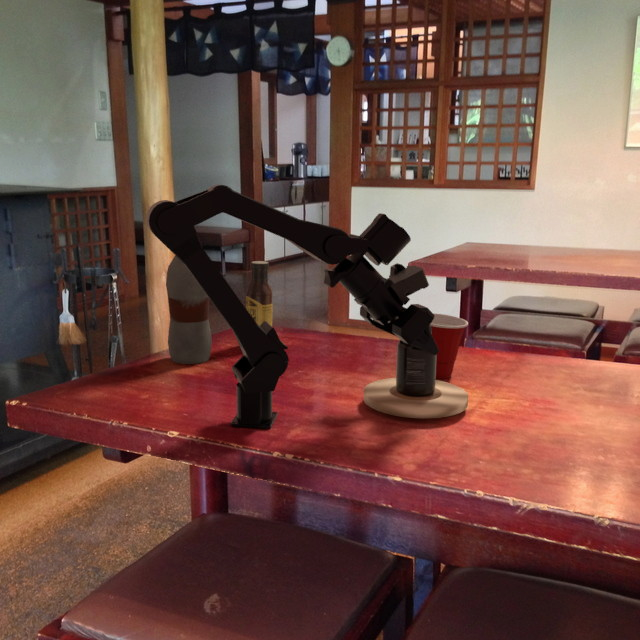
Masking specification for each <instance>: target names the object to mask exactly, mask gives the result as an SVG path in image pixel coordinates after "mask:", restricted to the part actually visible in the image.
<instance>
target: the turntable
mask: <svg viewBox="0 0 640 640" xmlns="http://www.w3.org/2000/svg"><path fill="white" fill-rule="evenodd" d="M363 402H364V404H365V405H367V406H368V407H369V408H371V409H373V410H375V411H377V412H381V413H383V414H387V415H391V416H396V417H401V418H402V417H403V418H410V419H411V418H412V419H439V418H446V417H452V416H455V415H459V414H461V413H462V412H464V411H466V409H467V408H468V404H469V395H468V392H467V391H466V390H465V389H463V388H462V387H460V386H458V385H455V384H453V383H450V382H446V381H443V380H440V379H436V383H435V392H434V393H433V394H432V395H430V396H425V397H411V396H405V395H402V394H400V393H398V392H397V390H396V377H388V378H383V379H379V380H374V381H372V382H370V383H368V384H366V385H365V386H364V389H363Z"/></svg>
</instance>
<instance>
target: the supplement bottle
mask: <svg viewBox="0 0 640 640" xmlns="http://www.w3.org/2000/svg"><path fill="white" fill-rule="evenodd" d="M429 329H430V332H431V334H432V325H430V327H429ZM396 346H397V347H396V368H395V369H396V371H395V372H396V373H395V374H396V376H395V378H396V390H397V392H398V393H400V394H402V395H405V396H411V397H425V396H430V395H432V394H433V393H434V392H435V383H436V380H437V379H436V358H437V354H436V355H432V354H430V353H428V352H425V351H423V350H421V349H418V348H416V347H413V346H411V345H408V344H406V343H404V342H403V341H401V340H400V339H399V341H398V342H397V345H396Z"/></svg>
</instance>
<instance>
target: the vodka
mask: <svg viewBox="0 0 640 640" xmlns="http://www.w3.org/2000/svg"><path fill="white" fill-rule="evenodd" d="M165 287H166V294H167V303H168V310H169V311H168V312H169V327H168V336H167V338H168V339H167V347H168V353H169V356H170V359H171V361H172V362H174V363H176V364H180V365H181V364H182V365H197V364H202V363H206V362H208V361H209V359H210V357H211V353H212V344H213V343H212V342H213V341H212V340H213V339H212V333H211V332H212V330H211V327H210V325H211V324H210V320H209V312H210V311H209V310H210V299H209V297H208V296H207V294H206V293H205V292H204V290H203V289H202V288H201V286H200V285H199V284H198V282H197V281H196V279H195V278H194V277H193V275H192V274H191V273H190V271H189V270H188V268H187V267H186V266H185V264H184V263H183V262H182V261H181V260H180V259H179V258H178V257H177V256H176V255H175V254H174V256H173V258H172V260H171V261H170V263H169V265H168V267H167V271H166V280H165Z"/></svg>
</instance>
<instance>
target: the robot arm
mask: <svg viewBox="0 0 640 640" xmlns="http://www.w3.org/2000/svg"><path fill="white" fill-rule="evenodd" d="M223 213H224V214H226V215H227V216H230V217H232V218H235V219H237V220H240V221H243V222H244V223H247V224H249V225H252V226H254V227H256V228H259V229H262V230H263V231H266V232H268V233H271V234H274V235H275V236H277V237H281V238H283V239H285V240H287V241H288V242H290V243H291V244H292V245H294V246H295V247H296V248H297V249H300V251H303V252H304V253H305V254H307V255H308V256H310V257H312V258H313V259H315V260H317V261H320V262H323V263H325V264H327V265H334V266H333V267H332V268H325V269H324V270H323V271H324V278H323V284H324V285H325V286H326V287H329V288H333V289H334V288H335V287H336V286H337V285H338V284H340V285H342V286H343V287H344V288H345V290H347V292H348V293H349V294H351V296H352V297H354V299H353V300H354V302H355V303H356V304H357V305H359V306H360V307H359V315H360V317H362V319H363V320H364V321H366V323H368V324H370V325H371V326H373V327H375V328H377V329H380V330H381V331H384V332H386V333H388V334H390V335H393V336H395V337H396V338H398V339H399V341H400V340H401V341H403V342H404V343H406V344H408V345H411V346H413V347H416V348H418V349H421V350H423V351H425V352H428V353H430V354H432V355H436V354H437V353H438V352H439V349H438V347H437V345H436V343H435V340H434V338H433V336H432V334H431V332H430V329H429V327H430V324H431V323H432V321H433V319H434V316H435V315H434V314H433V312H432V311H431V310H430V309H429V307H426V306H424V305H421V304H419V303H417V304H416V303H411V304H410V305H408V306H407V307H405V305H407V304H408V302H409V301H410V300H411V299H410V298H409V296H411V295H412V294H415V293H417V292H418V291H420V290H422V289H427V288H428V287H429V286H430V283H429V281H428V279H427V276H426V273H425V271H424V268H423V267H421V266H416V265H407V266H406V267H405V266H404V265H403V264H401V263H398V262H397V263H395V264H393V265H391V266H390V268H389V270H390V271H389V275H388V277H387V278H386V277H384V276H383V275H381V273H380V272H379V271H378V270H377V269H376V268H375V267H374V266H373V265H372V264H371V263H373V264H374V265H375V266H378V267H379V266H380V265H381V264H383V265H385V266H389V265H390V263H391V262H393V260H394V259H395V258H396V257H397V256H398V255H399V254H400V253H401V252H402V251H403V249H405V247H407V245H409V243H410V242H411V239H412V238H411V236H410V235H409V233H408V232H407V231H406V230H405V229H404V227H402V226H400V225H399V224H398V223H396V222H395V221H394V220H393V219H390V218H389V217H388V216H387V214H385V213H378V214H377V215H376V216H375V217H374V218H373V220H372V222H371V223H370V224H369V225H368V226H367V227H366V229H364V231H362V232H361V234H360V235H356V234H354V233H350V234H348V233H347V232H346V231H345V230H343V229H341V228H339V227H334V226H330V225H325V224H322V223H318V222H313V221H309V220H304V219H299V218H298V217H295V216H293V215H291V214H289V213H286V212H283V211H281V210H280V209H276V208H274V207H272V206H269V205H268V204H265V203H263V202H260V201H258V200H256V199H254V198H252V197H249V196H246V195H244V194H242V193H241V192H239V191H235V190H234V189H232V188H231V187H230V186H228V185H224V184H214V185H212V186H210V187H209V188H208V189H206V190H205V189H204V190H203V191H200V192H198V193H194V194H192V195H189V196H186V197H184V198H181V199H178V200H177V201H172V200H166V199H165V200H159V201H157V202H154V203H153V204H152V205H151V206H149V209H148V210H147V214H146V225H147V226H148V229H149V231H150V232H151V233H152V234H153V235H154V236H155V237H156V238H157V239H158V240H159V241H160V242H161V243H162V244H163V245H164V247H166V248H167V249H168V250H169V251H170V252H171V253H172V254H174V256H175V255H176V256H177V257H178V258H179V259H180V260H181V261H182V262H183V263H184V264H185V266H186V267H187V268H188V270H189V271H190V273H191V274H192V275H193V277H194V278H195V279H196V281H197V282H198V284H199V285H200V286H201V288H202V289H203V290H204V292H205V293H206V294H207V296H208V297H209V301H211V303H212V304H213V306H214V307H215V308H216V310H217V311H218V312H219V314H220V315H221V317H223V319H224V321H225V322H226V323H227V325H228V326H229V327H230V328H231V331H232V332H233V334H234V336H235V339H236V341H237V344H238V346H239V348H240V351H241V352H242V356H241V357H240V358H239V359H238V360H237V361H236V362H235V363H234V364H233V366H231V371H232V373H233V374H234V375H233V376H234V378H235V379H236V380H237V381H238V382H237V383H236V415H235V416H234V417H233V418H232V420H231V422H230V426H231V427H240V428H258V429H270V428H272V426H273V424H274V423H275V421H276V419H277V417H278V412H277V411H273V392H274V391H275V390H276V388H277V384H278V382H279V379H280V377H282V375H284V374H285V372H286V371H287V369H288V366H289V362H290V360H289V355H288V353H287V351H286V350H288V349H289V347H288V346H287V344H285V342H283V341H282V340H281V339H280V337H279V336H278V333H277V331H276V329H275V327H273V325H272V326H271V325H270V324H269V323H268V322H266V321H264V322H263V323H262V324H261V325H260V326H259V325H258V324H257V323H256V322H255V321H254V319H253V318H252V317H251V315H250V314H249V312H248V311H247V310H246V306H245V305H244V304H243V302H242V301H241V300H240V298H239V297H238V295H237V294H236V293H235V291H234V289H232V287H231V286H230V284H229V282H227V280H226V279H225V277H224V275H222V273H221V272H220V270H219V269H218V268H217V266H216V265H215V263H214V262H213V260H212V259H211V257H210V256H209V255H208V253H207V252H206V251H205V249H204V246H203V244H202V242H201V239H200V237H199V234H198V232H197V230H196V228H195V226H197V225H199V224H202V223H203V222H206V221H208V220H210V219H211V218H213V217H216V216H217V215H220V214H223ZM370 262H371V263H370Z"/></svg>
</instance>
